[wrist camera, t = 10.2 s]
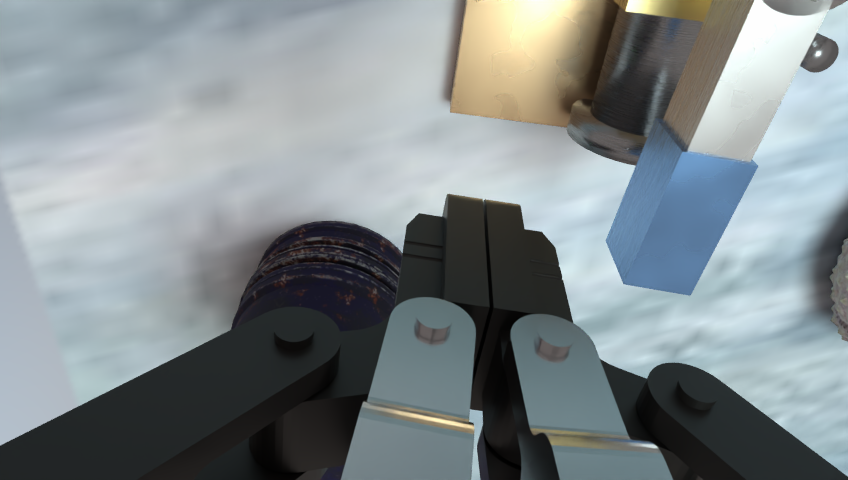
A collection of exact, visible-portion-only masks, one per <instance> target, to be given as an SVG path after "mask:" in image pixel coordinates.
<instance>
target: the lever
mask: <svg viewBox="0 0 848 480" xmlns="http://www.w3.org/2000/svg"><path fill="white" fill-rule="evenodd" d="M846 1H847V0H712V2H711V4H710V7H709V9H708V12H707V14H706V17H705V19H704V21H703V24H702V26H701V29H700V31H699V33H698V36H697V38H696V41H695V43H694V46H693V48H692V50H691V53H690V55H689V58H688V60H687V63H686V65H685V67H684V70H683V72H682V75H681V77H680V79H679V82H678V84H677V87H676V89H675V92H674V94H673V96H672V99H671V101H670V104H669V106H668V109H667V111H666V113H665V116H664V118H663V119H658V118H655V120H654V123H653V125H652V128H651V130H650V133H649V135H648V138H647V140H646V143H645V145H644V148H643V150H642V152H641V155H640V157H639V160H638V162H637V165H636V167H635V170H634V172H633V175H632V177H631V180H630V182H629V185H628V187H627V189H626V192H625V194H624V197H623V199H622V202H621V204H620V207H619V209H618V212H617V214H616V217H615V219H614V221H613V224H612V226H611V229H610V231H609V234H608V236H607V239H606V243H607V245H608V248H609V250H610V252H611V255H612V257H613V260H614V262H615V264H616V267H617V269H618V272H619V274H620V276H621V279H622V281H623V284H626V285H632V286H638V287H643V288H649V289H655V290H661V291H667V292H673V293H678V294H684V295H691V294H692V292H693V290H694V288H695V286H696V284H697V282H698V280H699V278H700V276H701V274H702V273H703V271H704V269H705V267H706V265H707V263H708V261H709V259H710V257H711V255H712V253H713V252H714V250H715V248H716V246H717V244H718V242H719V240H720V238H721V236H722V234H723V232H724V231H725V229H726V227H727V225H728V223H729V221H730V219H731V217H732V215H733V213H734V211H735V210H736V208H737V206H738V204H739V202H740V200H741V198H742V196H743V194H744V192H745V190H746V189H747V187H748V185H749V183H750V181H751V179H752V177H753V175H754V173H755V171H756V169H757V167H758V165H757V164H756V163H755V162H754V161H753V160H752V158H753V156H754V154H755V152H756V150H757V148H758V146H759V144H760V142H761V140H762V138H763V136H764V134H765V132H766V130H767V129H768V127H769V125H770V123H771V121H772V119H773V117H774V115H775V113H776V111H777V109H778V107H779V105H780V103H781V101H782V99H783V97H784V95H785V94H786V92H787V90H788V88H789V86H790V84H791V82H792V80H793V78H794V76H795V74H796V72H797V70H798V68H799V66H800V64H801V62H802V60H803V58H804V57H805V55H806V53H807V51H808V49H809V47H810V45H811V43H812V41H813V39H814V37H815V35H816V33H817V31H818V29H819V27H820V25H821V23H822V22H823V20H824V18H825V16H826V14H827V12H828V10H830V9H833V8H835V7H837V6H839V5H841V4H843V3H844V2H846Z"/></svg>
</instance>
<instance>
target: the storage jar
mask: <svg viewBox="0 0 848 480" xmlns="http://www.w3.org/2000/svg"><path fill="white" fill-rule="evenodd" d="M401 260H402V253H401V251H400V250H399V249H398V248H397V247H396V246H394V245H393V244H392V243H391V242H390V241H389V240H387V239H386V238H384V237H383V236H381V235H380V234H378V233H376V232H374V231H372V230H370V229H368V228H365V227H362V226H358V225H355V224H351V223H345V222H337V221H322V222H313V223H309V224H305V225H301V226H299V227H296V228H294V229H291V230H289V231H288V232H286V233H284V234H283V235H281V236H280V237H279V238H277V239H276V240H275V241H274V242H273V243H272V244H271V245H270V247H269V248H268V249H267V250H266V252H265V254H264V256H263V257H262V259H261V261H260V264H259V266H258V269H257V271H256V272H255V273H254V275H253V276H252V277H251V279H250V281H249V283H248V285H247V287H246V289H245V291H244V293H243V295H242V298H241V301H240V305H239V308H238V311H237V313H236V315H235V317H234V320H233V324H232V328H231V330H232V329H234V328H236V327H238V326H240V325H242V324H244V323H246V322H248V321H250V320H252V319H254V318H256V317H258V316H260V315H262V314H264V313H266V312H269V311H271V310H274V309H278V308H283V307H305V308H310V309H313V310H317V311H319V312H321V313H323V314H325V315H327V316H328V317H330V318H331V319H332V320H333V321H334V322H335V323H336V325H337V326H338V328H339V330H340V332H341V331H352V330H360V329H365V328H369V327H372V326H374V325H377V324H379V323H381V322H382V321H384V320H385V319H386V318H388V317H389V315H390V314H391V313H392V311H393V310H394V307H395V300H396V293H397V286H398V280H399V273H400V267H401ZM344 467H345V465H341V466H335V467H329V468H327V470H326V472H325V474H324V475H323V476H322V478H321V479H320V480H341V477H342V474H343V470H344Z"/></svg>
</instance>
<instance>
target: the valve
mask: <svg viewBox="0 0 848 480" xmlns="http://www.w3.org/2000/svg"><path fill="white" fill-rule="evenodd" d="M711 2H712V0H465V6H464V13H463V19H462V26H461V33H460V39H459V46H458V52H457V59H456V66H455V72H454V79H453V85H452V92H451V99H450V112H452V113H460V114H467V115H475V116H483V117H490V118H498V119H506V120H513V121H521V122H529V123H537V124H544V125H552V126H560V127H567V132H568V134H569V136H570V137H571V138H572V139H573V140H574V141H575V142H577V143H578V144H579V145H581V146H582V147H584V148H586V149H588V150H590V151H592V152H594V153H596V154H598V155H601V156H603V157H606V158H609V159H612V160H615V161H619V162H622V163H626V164H631V165H637V162H638V160H639V157H640V155H641V152H642V150H643V148H644V145H645V143H646V140H647V138H648V135H649V133H650V130H651V128H652V125H653V123H654V120H655V118H658V119H663V118H664V116H665V113H666V111H667V109H668V106H669V104H670V101H671V99H672V96H673V94H674V92H675V89H676V87H677V84H678V82H679V79H680V77H681V75H682V72H683V70H684V67H685V65H686V63H687V60H688V58H689V55H690V53H691V50H692V48H693V46H694V43H695V41H696V38H697V36H698V33H699V31H700V29H701V26H702V24H703V21H704V19H705V17H706V14H707V12H708V9H709V7H710V4H711ZM837 56H838V45H837V44H836V42H834V41H833V40H831V39H829V38H827V37H825V36H823V35H820V34H818V33H816V35H815V37H814V39H813V41H812V43H811V45H810V47H809V49H808V51H807V53H806V55H805V57H804V58H803V60H802V62H801V64H800V66H801V67H803V68H804V69H806V70H808V71H810V72H821V71H823V70H825V69H827V68H829V67H830V66H831V65H832V64H833V63H834V61H835V60H836V58H837Z"/></svg>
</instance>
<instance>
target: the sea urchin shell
mask: <svg viewBox="0 0 848 480" xmlns="http://www.w3.org/2000/svg"><path fill="white" fill-rule="evenodd" d="M843 241H844V245H843V246H842V253H841V254H840V255H839V256H838V263H837V265H836V266H835V267H834V268H833V269H832V271H833V274H832V275H831V276H830V279H831V281H832V282H833V287H832V288H831V290H832V293H831V295H830V297H831V299H832V300H833V301H834V302H835V304H834V305H833V306H832V308H831V309H832V311H833V312H834V315H833V317H832V319H831V321H832V322H833V323H834V324H836V325H837V326H838V333H839V334H841V335H842V340H845V341H848V238H847V239H845V240H843Z"/></svg>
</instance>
